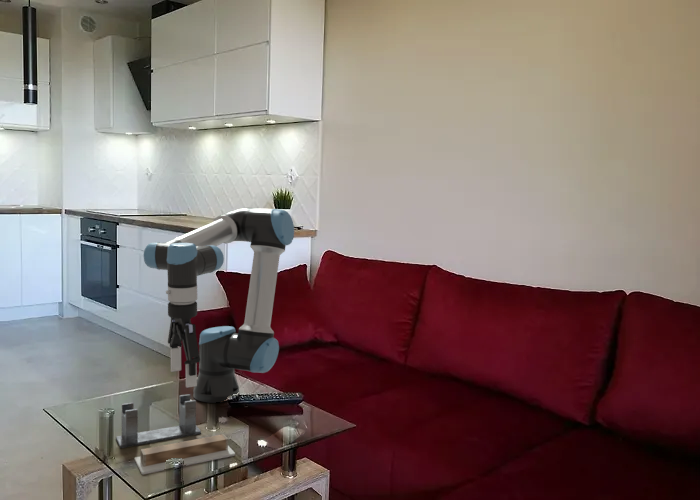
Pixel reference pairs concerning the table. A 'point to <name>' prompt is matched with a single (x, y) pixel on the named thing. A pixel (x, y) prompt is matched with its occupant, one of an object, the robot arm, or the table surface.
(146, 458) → the rail
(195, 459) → the mat
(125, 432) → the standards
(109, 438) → the table surface
